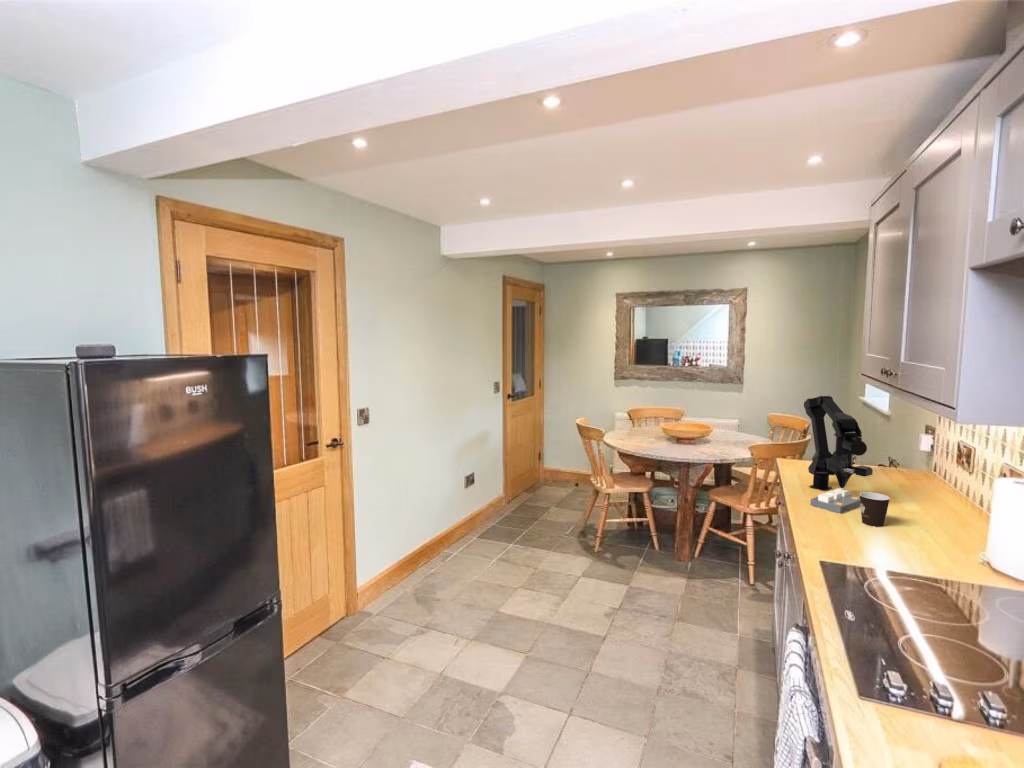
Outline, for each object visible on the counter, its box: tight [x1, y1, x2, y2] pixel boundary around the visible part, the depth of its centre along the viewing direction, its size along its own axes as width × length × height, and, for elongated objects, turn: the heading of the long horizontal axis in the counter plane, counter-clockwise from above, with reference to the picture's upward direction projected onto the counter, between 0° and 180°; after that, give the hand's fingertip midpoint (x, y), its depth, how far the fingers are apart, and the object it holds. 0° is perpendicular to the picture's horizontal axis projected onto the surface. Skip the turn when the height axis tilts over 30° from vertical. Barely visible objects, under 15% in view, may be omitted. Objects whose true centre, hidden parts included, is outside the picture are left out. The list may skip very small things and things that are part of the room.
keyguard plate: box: [810, 493, 861, 515], centre depth 199 cm, size 18×11×3 cm, turn 121°
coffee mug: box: [859, 491, 891, 528], centre depth 181 cm, size 12×9×10 cm
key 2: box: [833, 487, 851, 497], centre depth 203 cm, size 4×4×3 cm
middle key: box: [825, 490, 842, 500], centre depth 200 cm, size 4×4×3 cm
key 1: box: [817, 492, 834, 503], centre depth 197 cm, size 4×4×3 cm
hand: (842, 487), depth 203 cm, fingers closed
